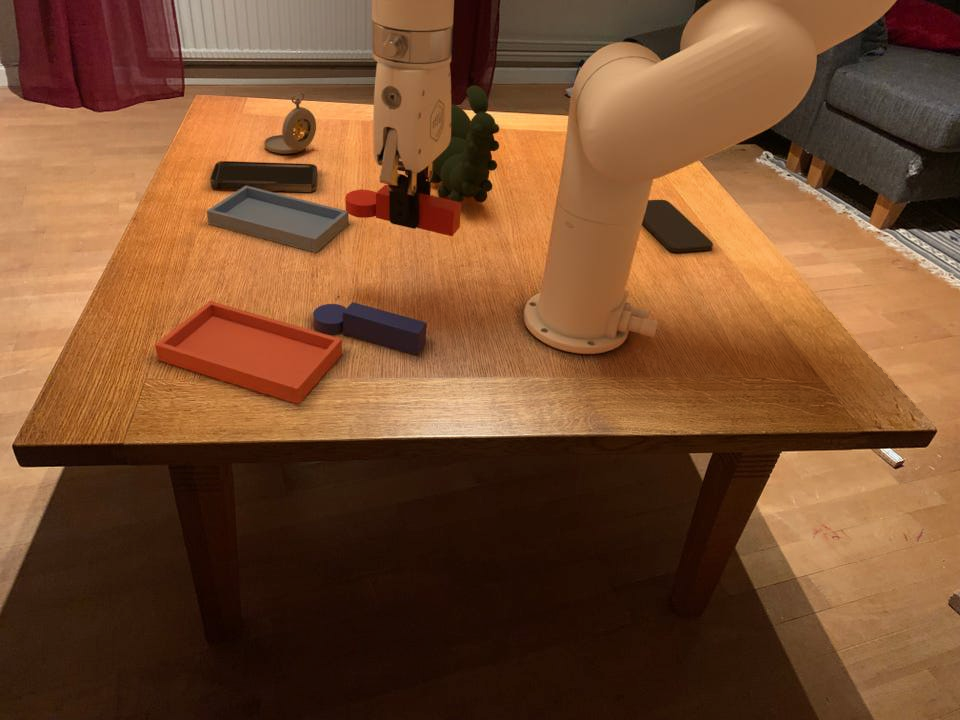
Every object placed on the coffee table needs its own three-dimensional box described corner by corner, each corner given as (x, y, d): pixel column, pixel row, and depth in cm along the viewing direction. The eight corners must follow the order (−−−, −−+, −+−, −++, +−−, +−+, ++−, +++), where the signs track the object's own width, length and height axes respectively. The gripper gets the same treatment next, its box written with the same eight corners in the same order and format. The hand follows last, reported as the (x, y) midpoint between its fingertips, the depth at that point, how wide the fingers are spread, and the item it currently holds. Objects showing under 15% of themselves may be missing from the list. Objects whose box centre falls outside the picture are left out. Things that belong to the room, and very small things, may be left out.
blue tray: (348, 224, 103) (348, 211, 102) (316, 253, 96) (315, 239, 95) (247, 198, 106) (245, 185, 105) (208, 224, 99) (206, 210, 98)
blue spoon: (428, 340, 83) (429, 318, 81) (414, 360, 80) (415, 337, 78) (324, 311, 86) (323, 289, 84) (307, 328, 82) (305, 306, 81)
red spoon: (462, 224, 81) (464, 199, 80) (449, 240, 78) (451, 214, 77) (355, 198, 84) (355, 174, 82) (339, 212, 81) (338, 187, 79)
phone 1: (216, 160, 112) (317, 164, 115) (217, 167, 113) (317, 170, 116) (209, 182, 106) (315, 185, 109) (210, 189, 107) (315, 192, 109)
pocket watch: (270, 138, 124) (265, 78, 118) (320, 144, 125) (318, 83, 119) (257, 157, 118) (251, 94, 112) (310, 162, 118) (307, 100, 112)
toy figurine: (503, 226, 111) (452, 147, 127) (524, 104, 98) (464, 34, 115) (443, 231, 107) (399, 150, 124) (457, 106, 95) (406, 34, 112)
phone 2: (671, 248, 104) (625, 201, 116) (670, 253, 105) (624, 205, 116) (716, 245, 107) (666, 199, 118) (714, 250, 107) (665, 203, 118)
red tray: (342, 353, 79) (342, 338, 78) (298, 404, 72) (297, 389, 71) (212, 315, 83) (209, 300, 82) (157, 360, 76) (154, 344, 74)
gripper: (415, 70, 63) (412, 259, 74) (477, 30, 75) (466, 198, 86) (336, 56, 64) (344, 243, 76) (409, 19, 77) (407, 185, 88)
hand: (409, 217), depth 81 cm, fingers closed on red spoon, 2 cm apart
